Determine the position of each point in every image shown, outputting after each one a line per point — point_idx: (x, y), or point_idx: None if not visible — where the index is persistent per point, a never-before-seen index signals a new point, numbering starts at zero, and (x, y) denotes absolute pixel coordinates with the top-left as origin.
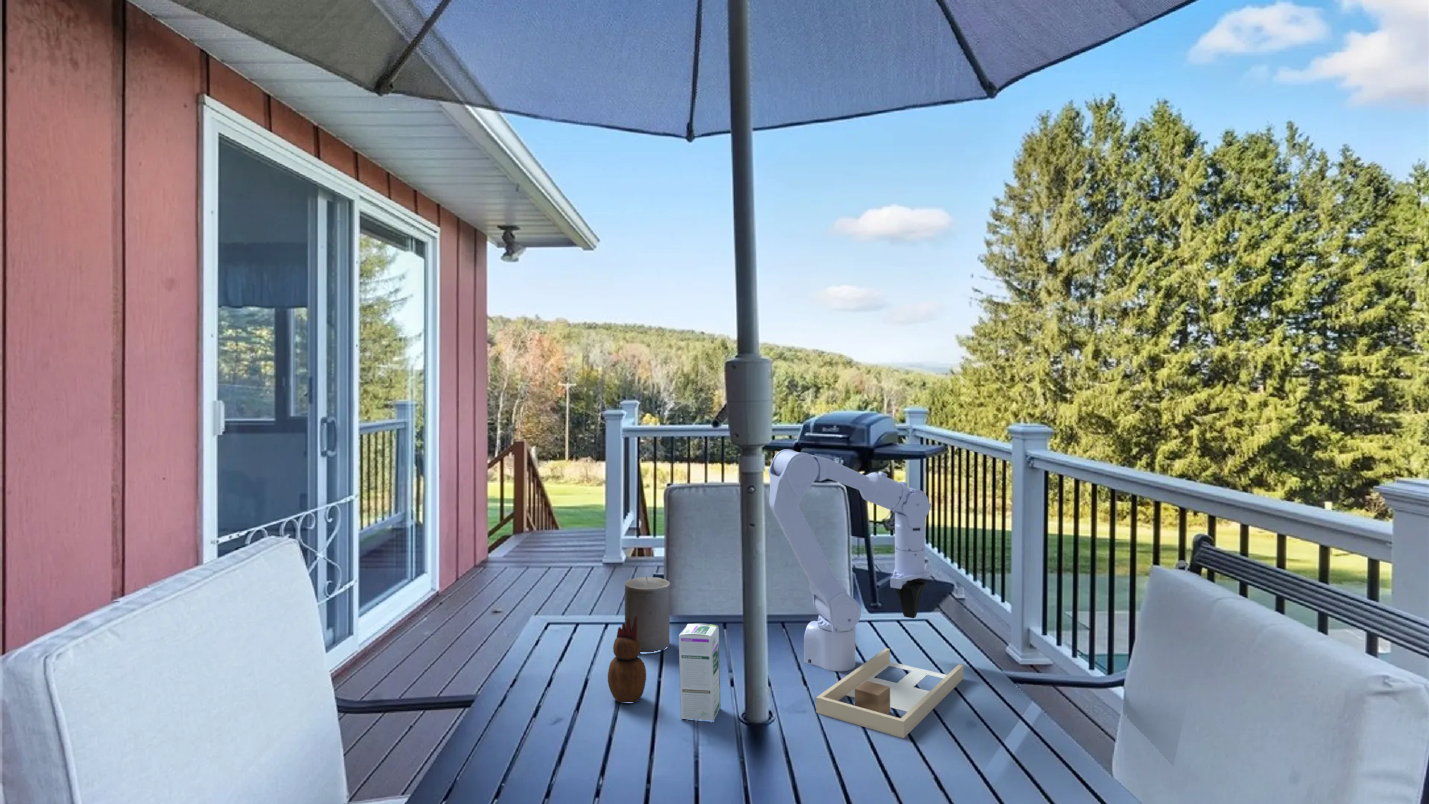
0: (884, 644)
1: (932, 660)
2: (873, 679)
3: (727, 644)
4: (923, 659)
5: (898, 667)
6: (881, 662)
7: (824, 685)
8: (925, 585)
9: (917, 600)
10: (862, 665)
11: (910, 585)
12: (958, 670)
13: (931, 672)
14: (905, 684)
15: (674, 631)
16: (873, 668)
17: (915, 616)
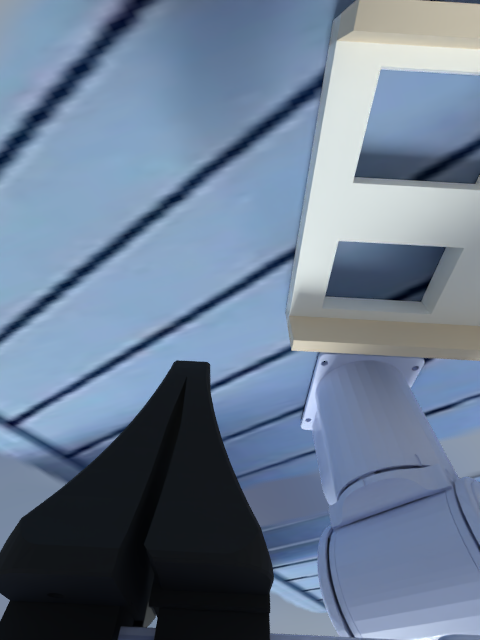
0: (122, 362)
1: (139, 223)
2: (448, 310)
3: (305, 519)
4: (151, 249)
5: (325, 283)
6: (354, 328)
7: (448, 380)
8: (55, 520)
9: (182, 432)
10: (472, 357)
11: (253, 595)
12: (441, 2)
13: (324, 175)
14: (472, 220)
15: (290, 558)
16: (409, 331)
17: (184, 362)
